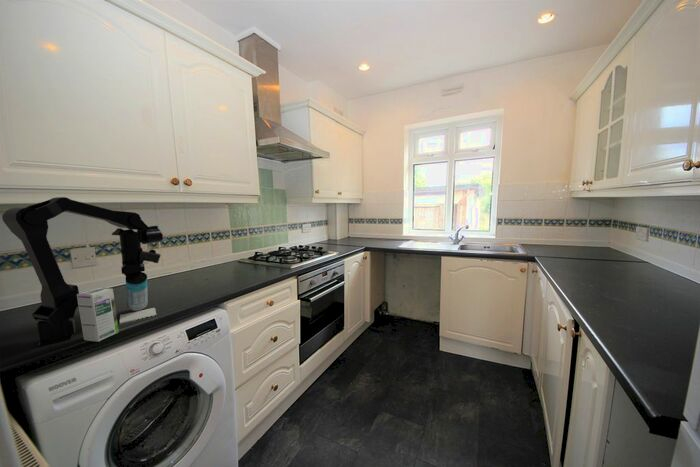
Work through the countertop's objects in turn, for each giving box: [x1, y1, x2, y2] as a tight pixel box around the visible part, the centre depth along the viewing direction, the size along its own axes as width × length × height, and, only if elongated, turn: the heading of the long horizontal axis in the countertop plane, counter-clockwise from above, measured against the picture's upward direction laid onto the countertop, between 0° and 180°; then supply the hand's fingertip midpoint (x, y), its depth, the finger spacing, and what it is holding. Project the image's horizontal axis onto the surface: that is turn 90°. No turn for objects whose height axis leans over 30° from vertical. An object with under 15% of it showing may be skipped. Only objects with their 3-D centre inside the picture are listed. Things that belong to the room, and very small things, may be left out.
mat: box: [119, 307, 158, 325], centre depth 93 cm, size 10×8×1 cm
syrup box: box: [77, 287, 120, 343], centre depth 78 cm, size 6×6×14 cm
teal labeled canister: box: [125, 271, 149, 312], centre depth 95 cm, size 6×6×15 cm
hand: (135, 286), depth 98 cm, fingers closed
